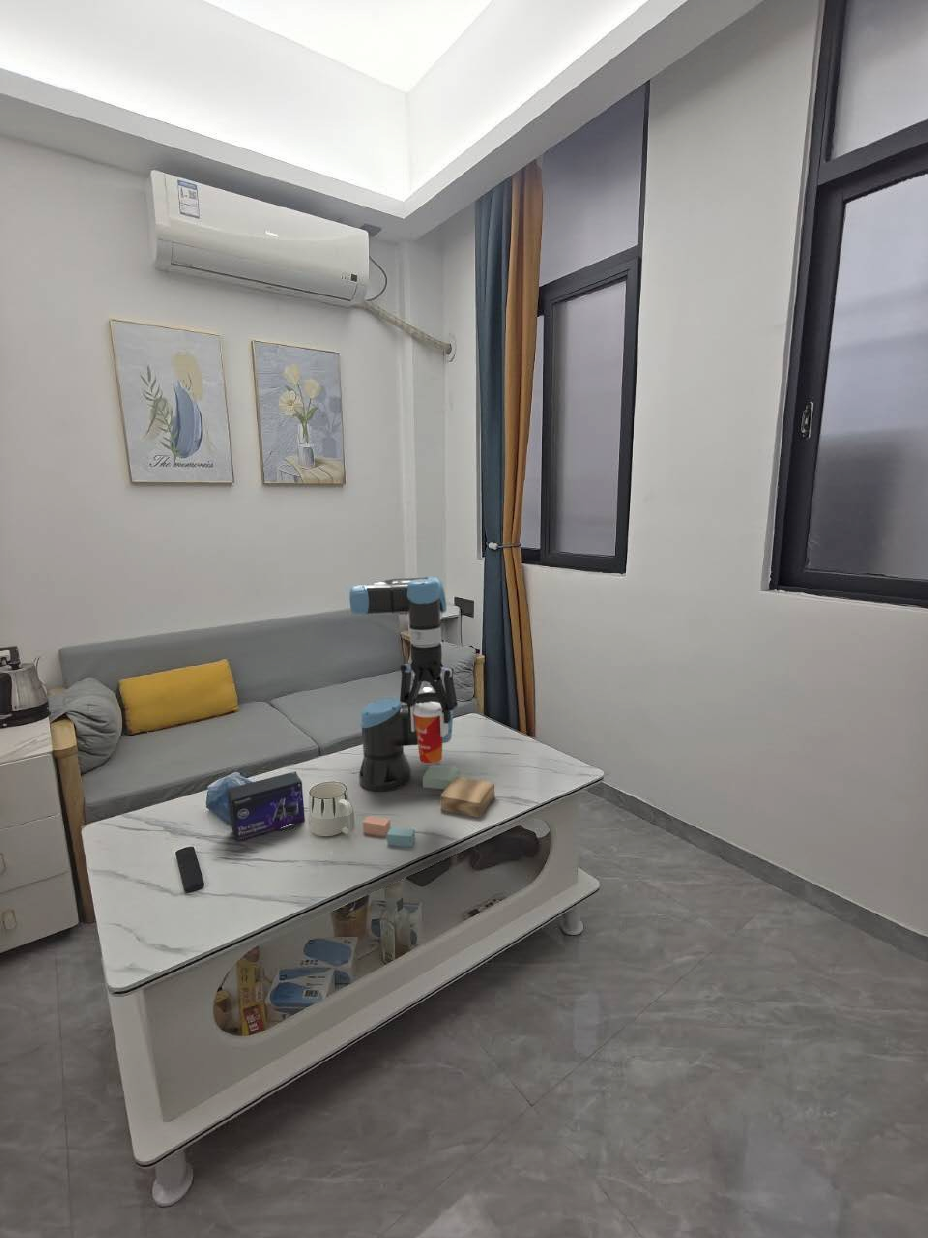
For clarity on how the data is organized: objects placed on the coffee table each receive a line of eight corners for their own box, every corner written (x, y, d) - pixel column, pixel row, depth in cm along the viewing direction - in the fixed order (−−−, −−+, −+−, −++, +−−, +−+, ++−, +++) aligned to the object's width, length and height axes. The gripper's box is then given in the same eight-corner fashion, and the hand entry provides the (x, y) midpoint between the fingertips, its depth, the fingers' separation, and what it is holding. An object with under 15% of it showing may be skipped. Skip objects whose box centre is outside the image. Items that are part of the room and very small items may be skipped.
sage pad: (423, 787, 164) (422, 777, 163) (431, 774, 171) (430, 764, 171) (450, 790, 162) (450, 780, 161) (457, 776, 169) (457, 767, 169)
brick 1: (363, 833, 143) (362, 822, 142) (369, 826, 145) (368, 816, 145) (385, 837, 141) (384, 826, 140) (390, 830, 144) (390, 819, 143)
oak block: (440, 809, 152) (440, 795, 151) (457, 789, 162) (457, 776, 161) (479, 817, 148) (478, 803, 147) (494, 796, 157) (494, 783, 157)
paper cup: (412, 754, 148) (409, 703, 145) (441, 750, 150) (439, 699, 147) (419, 768, 141) (416, 714, 138) (449, 763, 143) (447, 709, 140)
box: (236, 844, 140) (230, 799, 137) (231, 831, 145) (226, 787, 143) (306, 822, 148) (302, 780, 145) (299, 811, 154) (295, 769, 151)
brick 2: (387, 845, 137) (386, 834, 137) (391, 838, 140) (390, 827, 139) (411, 847, 136) (411, 836, 135) (415, 840, 139) (414, 829, 138)
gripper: (381, 643, 141) (387, 731, 145) (456, 651, 131) (459, 744, 136) (398, 636, 147) (403, 720, 152) (470, 643, 138) (473, 732, 143)
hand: (429, 732), depth 144 cm, fingers closed on paper cup, 8 cm apart
